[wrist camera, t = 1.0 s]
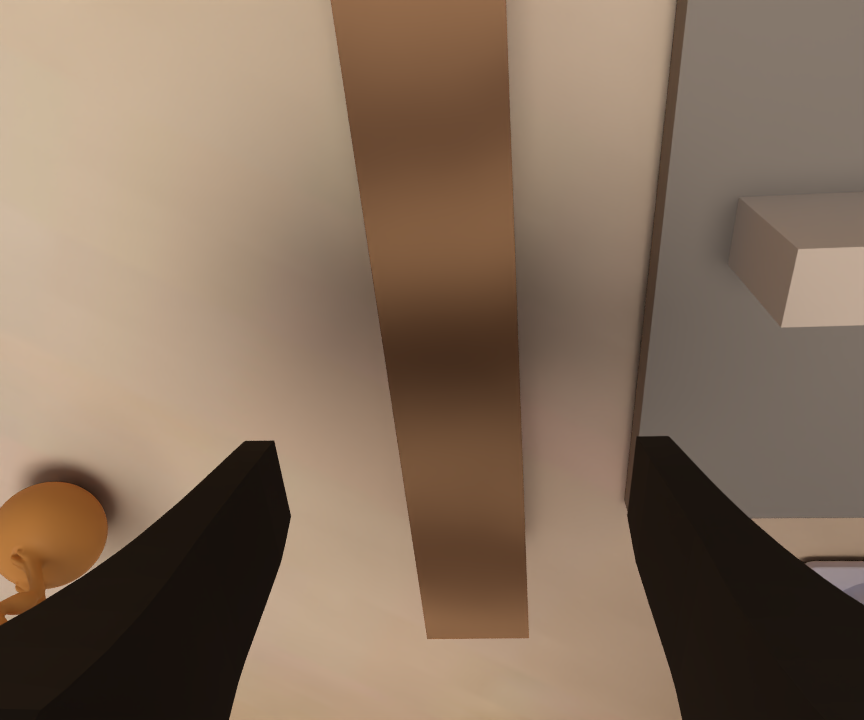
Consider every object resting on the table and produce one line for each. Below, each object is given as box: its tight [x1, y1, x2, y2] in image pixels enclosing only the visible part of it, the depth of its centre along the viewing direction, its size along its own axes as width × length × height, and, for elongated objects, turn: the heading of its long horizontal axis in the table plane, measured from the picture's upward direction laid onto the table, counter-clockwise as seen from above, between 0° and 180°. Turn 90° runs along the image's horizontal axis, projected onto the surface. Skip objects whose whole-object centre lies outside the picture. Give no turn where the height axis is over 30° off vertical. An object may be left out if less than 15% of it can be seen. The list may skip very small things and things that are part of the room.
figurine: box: [0, 482, 108, 625], centre depth 22 cm, size 8×6×12 cm
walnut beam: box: [331, 0, 529, 639], centre depth 20 cm, size 22×4×5 cm, turn 6°
